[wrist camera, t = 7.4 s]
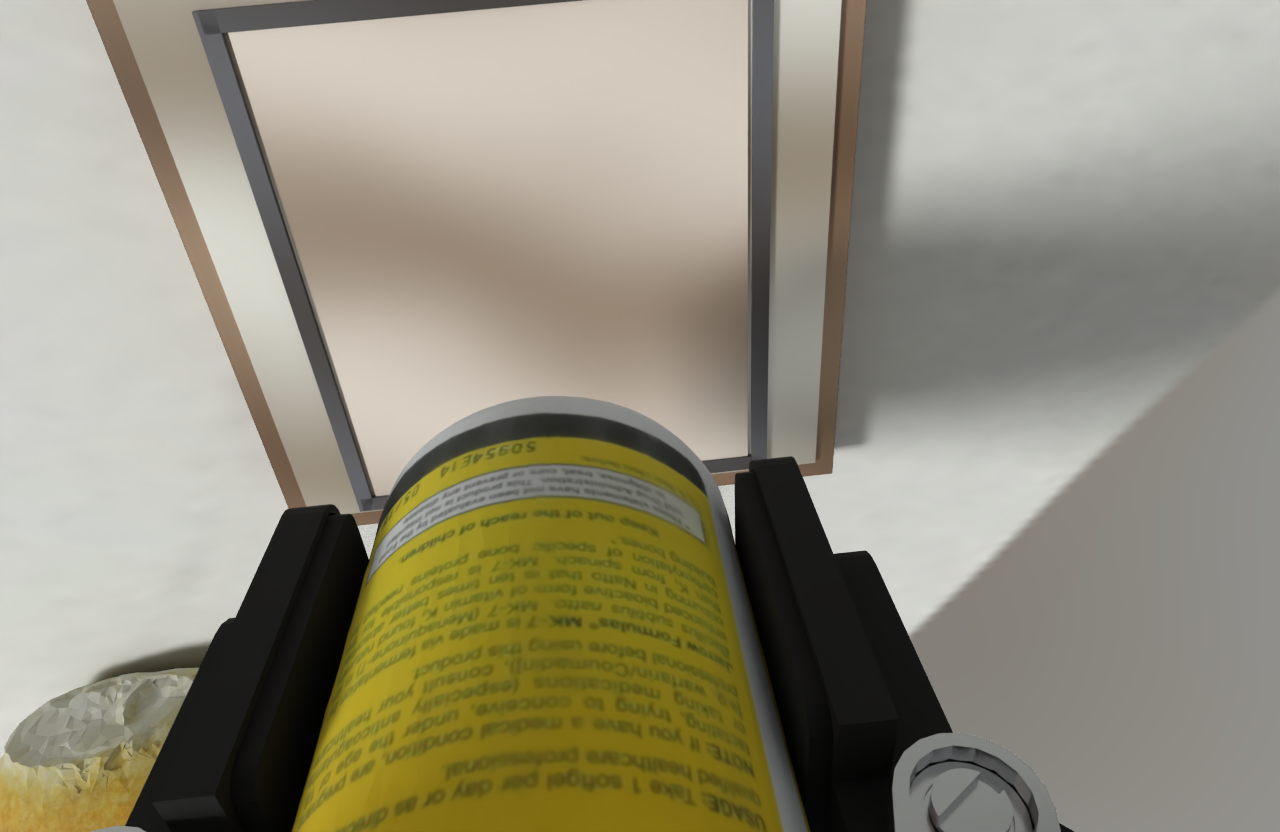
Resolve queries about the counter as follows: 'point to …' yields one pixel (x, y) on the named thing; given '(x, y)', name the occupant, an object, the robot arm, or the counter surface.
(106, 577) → the counter surface
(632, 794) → the supplement bottle
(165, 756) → the robot arm
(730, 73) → the brown double tray
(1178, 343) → the counter surface
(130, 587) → the counter surface
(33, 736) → the bread roll
